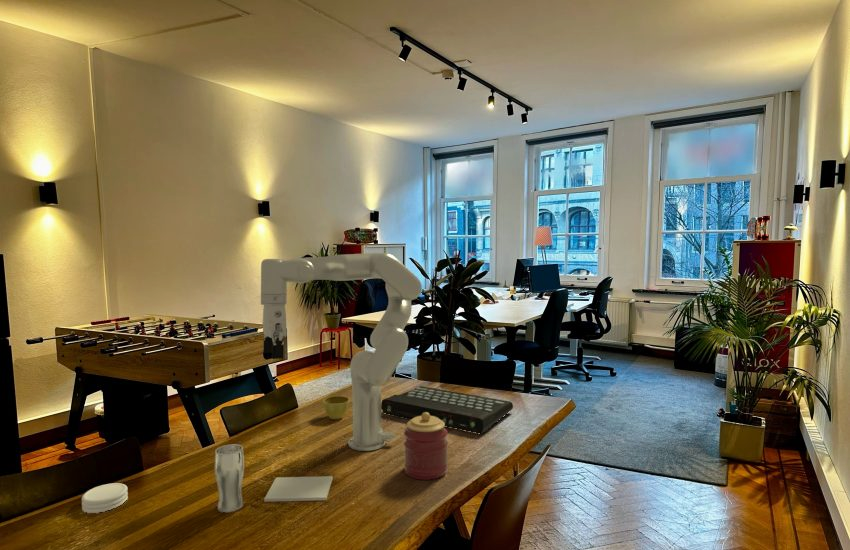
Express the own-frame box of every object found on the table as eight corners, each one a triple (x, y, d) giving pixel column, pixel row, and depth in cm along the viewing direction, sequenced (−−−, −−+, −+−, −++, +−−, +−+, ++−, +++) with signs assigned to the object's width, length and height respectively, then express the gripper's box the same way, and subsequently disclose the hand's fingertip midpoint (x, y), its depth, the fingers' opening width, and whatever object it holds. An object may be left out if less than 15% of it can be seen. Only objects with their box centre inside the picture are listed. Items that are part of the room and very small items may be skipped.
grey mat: (332, 478, 140) (332, 476, 140) (326, 500, 128) (326, 497, 128) (276, 480, 140) (276, 477, 140) (264, 501, 128) (264, 498, 128)
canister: (452, 479, 140) (452, 418, 139) (407, 482, 138) (406, 421, 137) (442, 460, 153) (442, 404, 152) (401, 463, 151) (401, 406, 150)
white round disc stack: (77, 518, 120) (77, 504, 120) (87, 499, 130) (86, 486, 129) (124, 509, 124) (124, 496, 124) (130, 492, 134) (130, 479, 133)
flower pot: (353, 418, 191) (353, 400, 190) (329, 424, 185) (329, 405, 185) (342, 411, 199) (342, 394, 199) (319, 416, 193) (319, 398, 193)
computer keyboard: (512, 414, 197) (513, 398, 196) (483, 437, 173) (483, 418, 173) (418, 397, 220) (418, 382, 220) (381, 415, 197) (381, 398, 196)
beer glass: (234, 515, 121) (233, 455, 121) (209, 512, 123) (208, 453, 122) (250, 501, 128) (249, 444, 127) (226, 498, 130) (225, 442, 129)
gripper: (294, 301, 143) (294, 359, 144) (278, 296, 158) (277, 349, 159) (268, 302, 139) (268, 362, 140) (254, 297, 154) (253, 351, 155)
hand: (273, 355), depth 149 cm, fingers open, 9 cm apart
